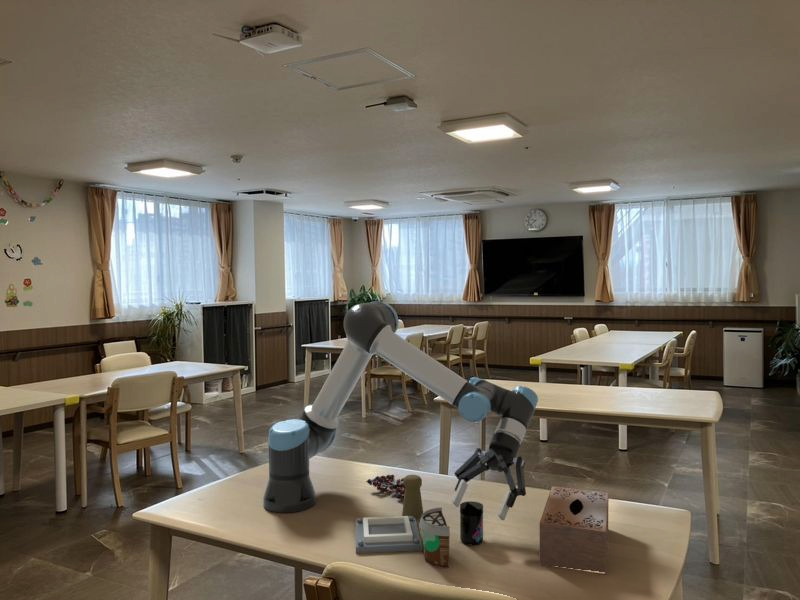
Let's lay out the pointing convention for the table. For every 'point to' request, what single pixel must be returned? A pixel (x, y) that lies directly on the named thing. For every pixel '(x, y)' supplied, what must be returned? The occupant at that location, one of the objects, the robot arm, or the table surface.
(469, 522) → the supplement container
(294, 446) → the robot arm
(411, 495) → the cork
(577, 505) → the tissue box cover
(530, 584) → the table surface
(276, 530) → the table surface
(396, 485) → the toy collection
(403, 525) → the base plate
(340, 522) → the table surface
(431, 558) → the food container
